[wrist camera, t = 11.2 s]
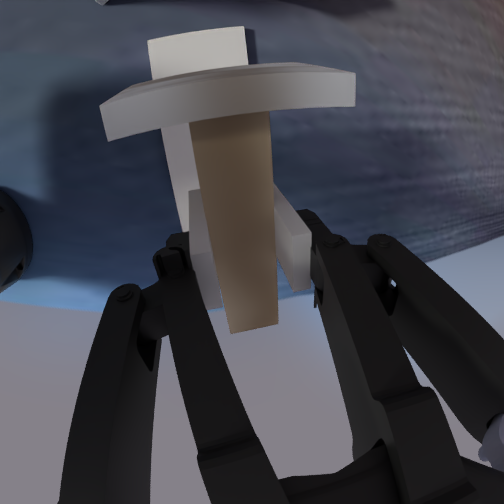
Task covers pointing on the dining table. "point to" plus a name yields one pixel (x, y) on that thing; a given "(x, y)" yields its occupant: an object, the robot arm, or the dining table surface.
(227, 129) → the scraper
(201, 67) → the cutting board
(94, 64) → the dining table surface
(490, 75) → the dining table surface
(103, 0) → the tea box
